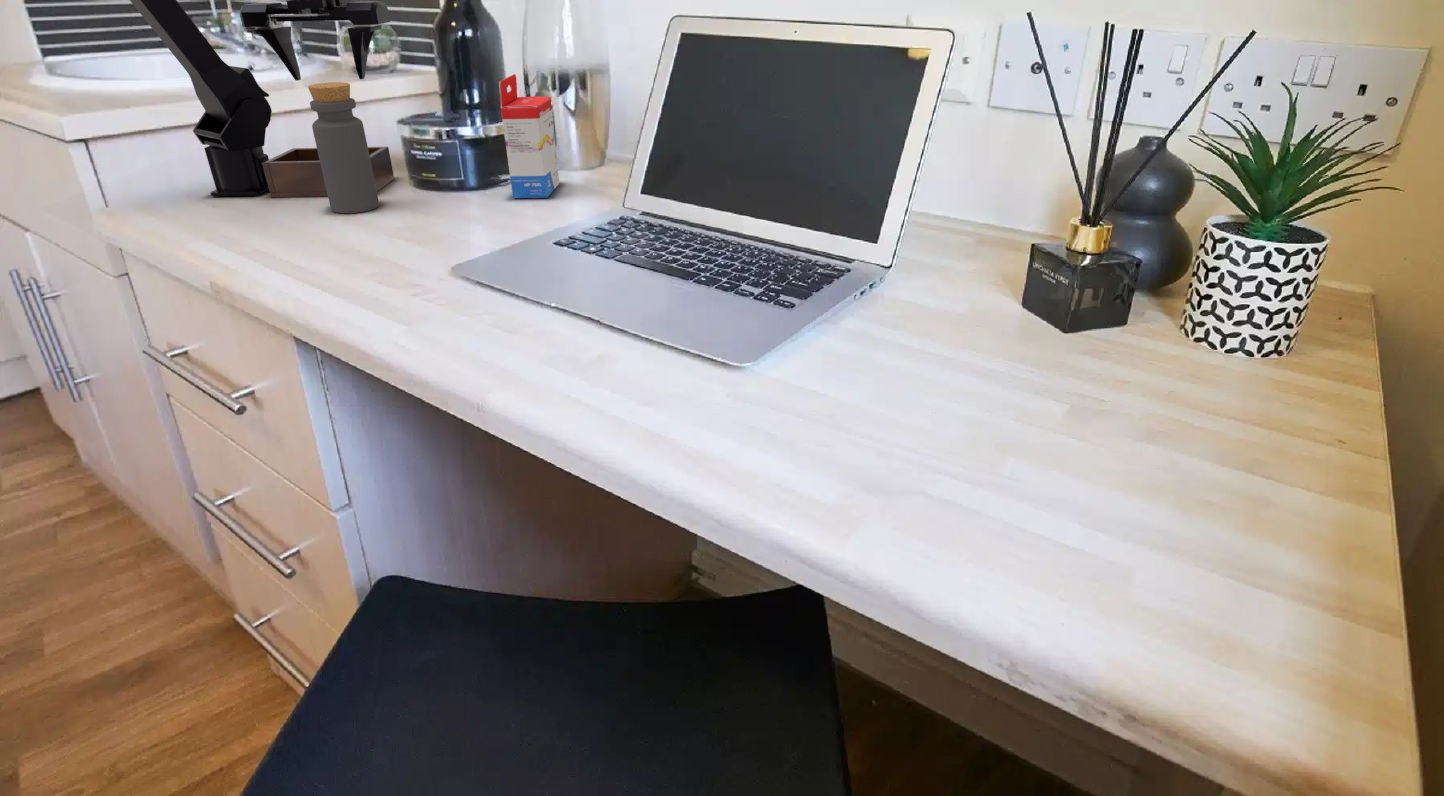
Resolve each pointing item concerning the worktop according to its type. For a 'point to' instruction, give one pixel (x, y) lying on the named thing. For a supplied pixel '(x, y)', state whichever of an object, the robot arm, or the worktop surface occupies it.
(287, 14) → the robot arm
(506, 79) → the ink box
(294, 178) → the crate
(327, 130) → the bottle
